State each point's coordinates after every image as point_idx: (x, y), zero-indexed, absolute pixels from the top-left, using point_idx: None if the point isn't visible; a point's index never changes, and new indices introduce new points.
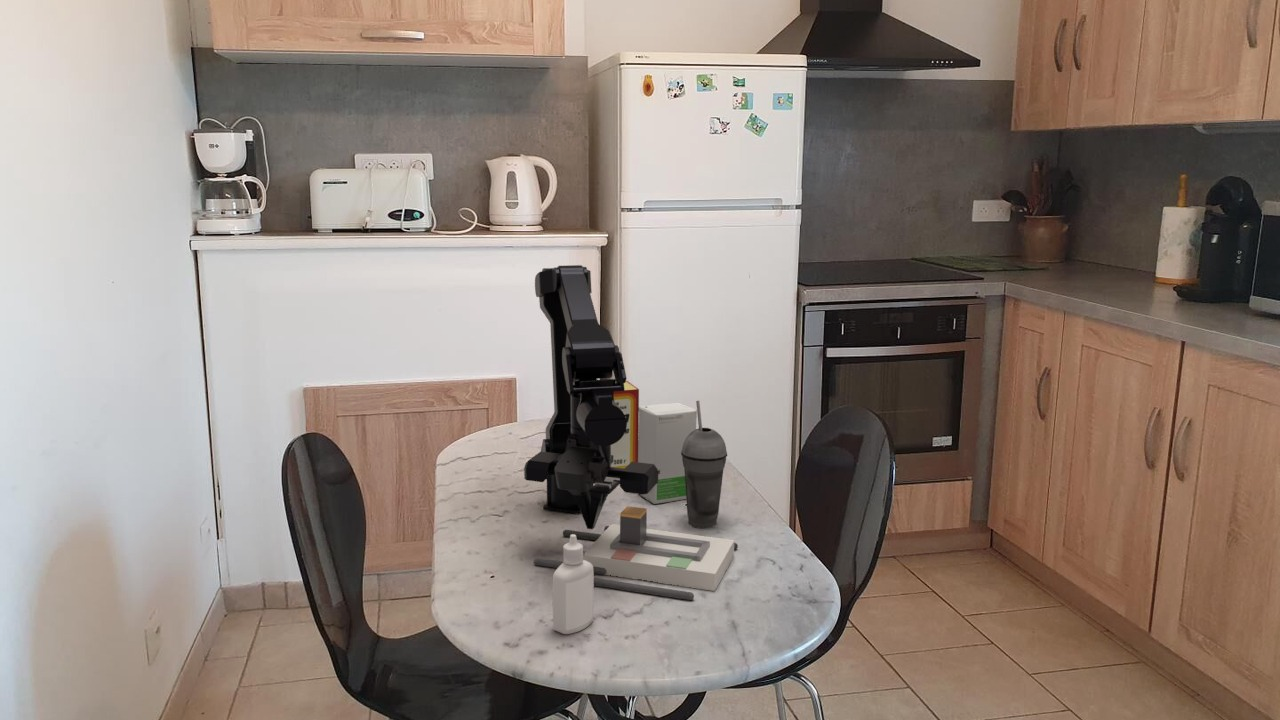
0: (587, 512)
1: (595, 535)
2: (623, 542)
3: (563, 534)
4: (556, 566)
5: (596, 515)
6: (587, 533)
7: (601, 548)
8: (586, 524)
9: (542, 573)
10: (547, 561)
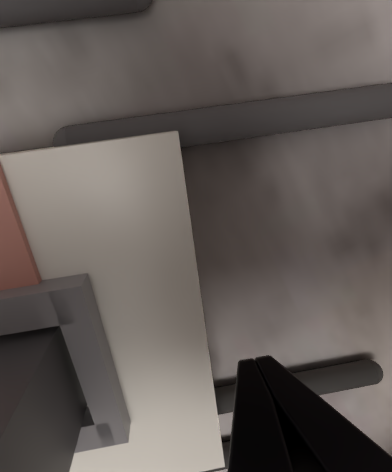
0: (312, 453)
1: None
2: (33, 339)
3: (373, 361)
4: (297, 96)
5: (231, 456)
6: None
7: (131, 256)
8: (281, 369)
9: (335, 23)
10: (352, 95)
